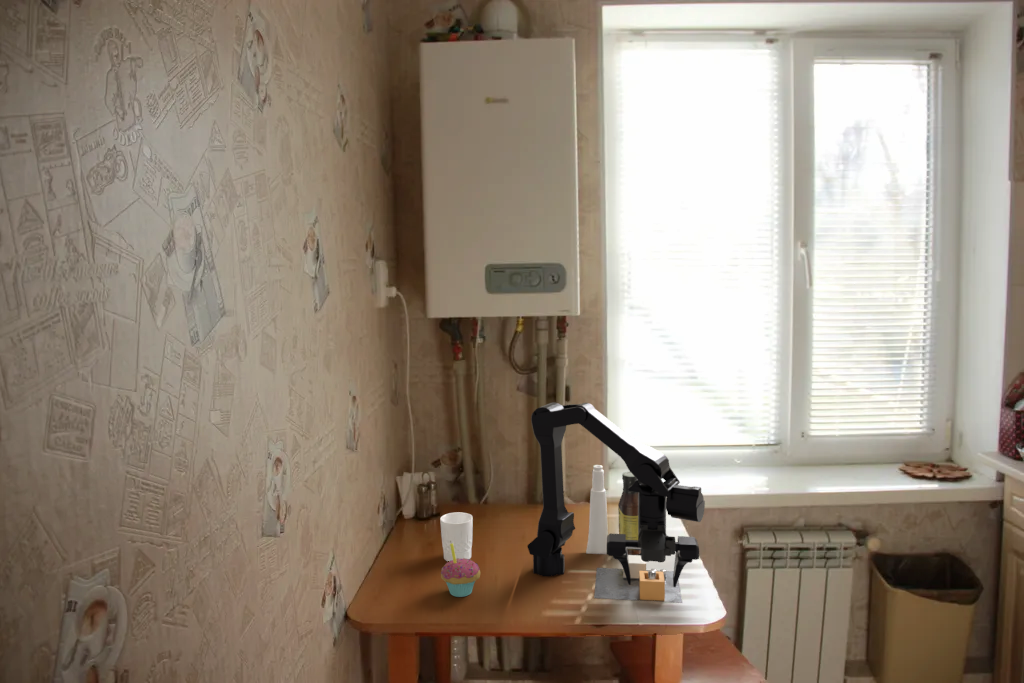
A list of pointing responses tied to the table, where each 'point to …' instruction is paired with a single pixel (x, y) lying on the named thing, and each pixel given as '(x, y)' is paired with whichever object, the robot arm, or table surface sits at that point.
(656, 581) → the orange hollow square block
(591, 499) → the cosmetic bottle
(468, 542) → the white cup
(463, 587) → the cupcake
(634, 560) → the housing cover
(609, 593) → the base plate
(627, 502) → the sauce bottle
